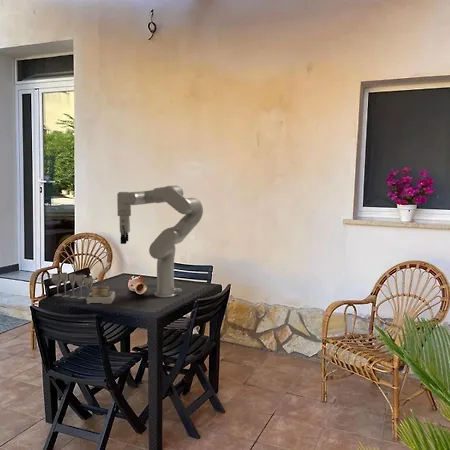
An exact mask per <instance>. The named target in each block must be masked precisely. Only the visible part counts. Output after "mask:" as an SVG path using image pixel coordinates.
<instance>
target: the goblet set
mask: <svg viewBox="0 0 450 450" xmlns="http://www.w3.org/2000/svg"><path fill="white" fill-rule="evenodd" d="M50 280H51V282H52V283H53V284H54V285H55V286H56V288H57V289H56V291H57V292H56V294H54V295H53V296H54V297H63V298H68V297H69V298H70V299H75V298H76V299H77V300H84V299H85V301H87V296H83V295H82V294H83V293H82V288H83V286H85V288H86V289H87V291H88V295H89V294H90V293H91V292H90V291H91V287H93V284H94V277H93V276H86V274H85V273H77V274H76V272H69V273H68V272H57V273H52V275H51V278H50ZM68 280H69V283H70V285H71V288H72V290H74V287H75V283H76V285H77V286H78V287H79V290H80V296H77V295H75V294H74V291H72V296H70V295H69V294H67V288H66V286H67V282H68ZM61 282H62V283H63V284H62V285H64V295H63V294H62V293H59V285H60V283H61Z"/></svg>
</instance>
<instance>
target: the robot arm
mask: <svg viewBox="0 0 450 450" xmlns="http://www.w3.org/2000/svg"><path fill="white" fill-rule="evenodd" d="M116 201H117V206H116V207H117V217H119V233H120V244H121V245H126V244H127V242H129V233H130V232H131V219H130V217H131V216H132V210H131V208H132V206H138V205H147V204H148V205H149V204H161V203H167V205H169V206H171V208H173V210H175V211H177V212H178V213H179V214H181V215H184V216H182V217H181V219H179V221H178V222H177V223H176V224H175V225H174V226H170V227H168V228H165V229H164V230H163V231H162V232H160V234H158V235H157V237H156V238H155V239H154V241H152V243H151V244H150V245H149V249H148V251H149V255H150V257H152V258H153V259H156V261H157V262H156V291H155V292H153V293H154V294H153V295H154V297H157V298H172V297H175V296H177V293H182V292H183V289H182V288H180V287H175V254H176V245H178V244H180V243H182V242H183V241H184V240H185V239H186V238H187V236H189V234H190V233H191V232H192V230H193V229H194V228H195V227H196V226H197V225H198V224H199V223H200V221H201V220H202V217H203V214H204V206H203V204H202V202H201V200H200V199H198V198H196V197H185V196H184V190H183V188H182V187H180V186H179V185H167V186H163V187H161V186H160V187H156V188H153V189H151V190H143V191H142V190H141V191H130V192H129V191H119V192H118V193H117V199H116Z"/></svg>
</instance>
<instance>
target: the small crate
mask: <svg viewBox="0 0 450 450" xmlns="http://www.w3.org/2000/svg"><path fill="white" fill-rule="evenodd" d="M90 291H91V292H90V293H91V297H109V292H110V287H109V286H91V288H90Z"/></svg>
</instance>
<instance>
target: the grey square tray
mask: <svg viewBox="0 0 450 450" xmlns="http://www.w3.org/2000/svg"><path fill="white" fill-rule="evenodd" d="M86 298H87V300H86V305H91V304H90V303H102V304H104V305H105V304H107V305H108V304H110V305H111V304H112V303H113V302H114V300H115V298H116V293H115V291H109V297H91V292H90V294H89V293H88V295H87V296H86ZM102 304H101V305H102Z"/></svg>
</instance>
